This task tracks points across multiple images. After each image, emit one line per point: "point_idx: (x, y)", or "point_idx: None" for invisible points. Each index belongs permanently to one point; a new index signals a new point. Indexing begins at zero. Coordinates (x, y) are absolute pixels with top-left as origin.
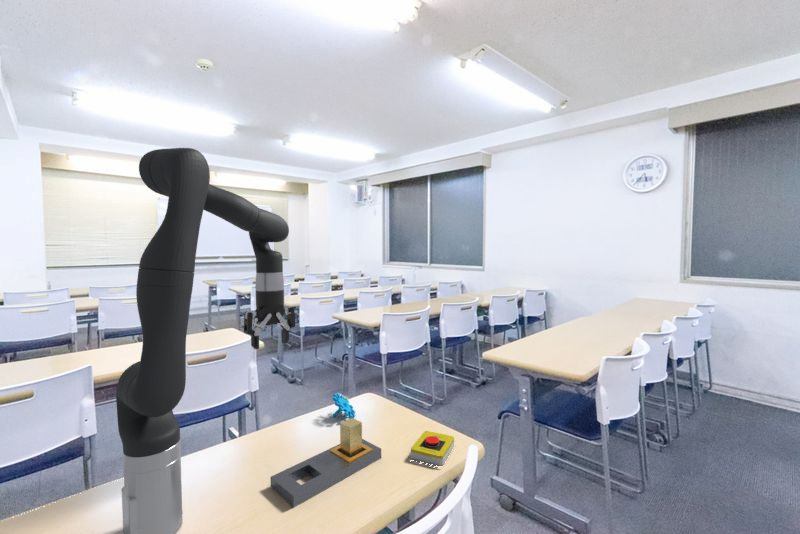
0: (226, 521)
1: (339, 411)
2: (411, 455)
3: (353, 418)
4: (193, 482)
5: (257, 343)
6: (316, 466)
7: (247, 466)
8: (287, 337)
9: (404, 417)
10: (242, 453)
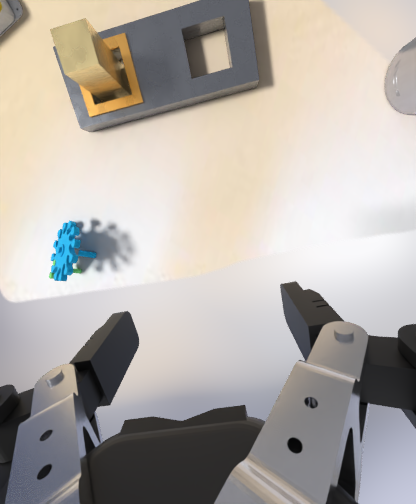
0: (336, 34)
1: (80, 250)
2: (8, 9)
3: (62, 67)
4: (344, 177)
5: (300, 296)
6: (181, 61)
7: (267, 175)
8: (99, 331)
9: None
10: (262, 220)
